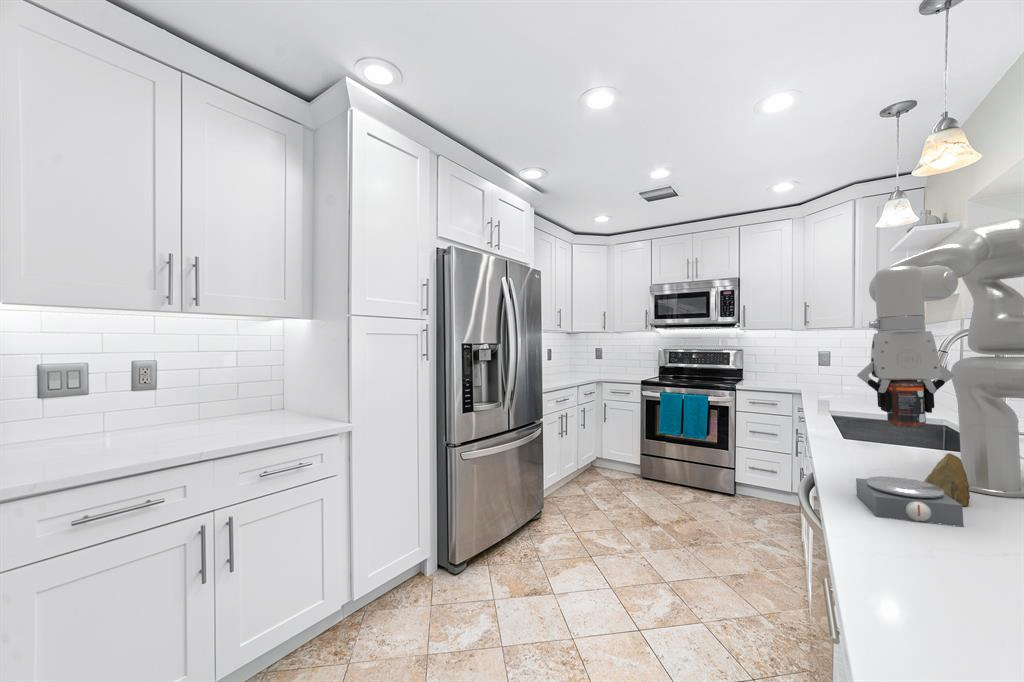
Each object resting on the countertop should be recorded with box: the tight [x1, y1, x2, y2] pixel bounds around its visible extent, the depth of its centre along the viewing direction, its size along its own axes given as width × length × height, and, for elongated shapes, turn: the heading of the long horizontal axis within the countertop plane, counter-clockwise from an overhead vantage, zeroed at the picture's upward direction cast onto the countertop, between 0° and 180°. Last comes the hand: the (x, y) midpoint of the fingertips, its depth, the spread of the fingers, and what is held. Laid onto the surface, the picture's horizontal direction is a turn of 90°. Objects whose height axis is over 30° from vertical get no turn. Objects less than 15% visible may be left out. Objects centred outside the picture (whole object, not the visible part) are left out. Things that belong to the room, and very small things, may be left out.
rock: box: [923, 452, 971, 507], centre depth 97 cm, size 11×9×10 cm
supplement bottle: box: [886, 380, 927, 428], centre depth 90 cm, size 6×6×11 cm
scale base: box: [855, 477, 964, 528], centre depth 90 cm, size 14×13×4 cm
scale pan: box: [866, 476, 944, 498], centre depth 91 cm, size 12×12×1 cm
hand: (905, 410), depth 90 cm, fingers closed on supplement bottle, 6 cm apart
